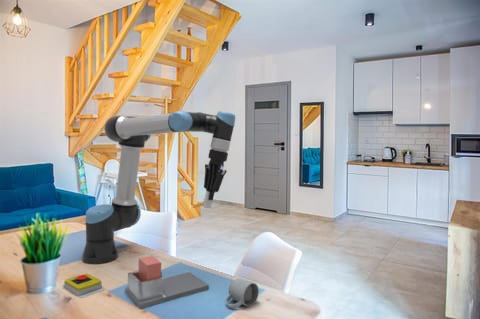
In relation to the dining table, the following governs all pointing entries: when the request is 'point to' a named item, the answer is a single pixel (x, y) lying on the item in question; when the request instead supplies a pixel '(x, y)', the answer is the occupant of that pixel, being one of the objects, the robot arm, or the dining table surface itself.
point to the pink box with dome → (149, 268)
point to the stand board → (174, 289)
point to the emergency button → (83, 285)
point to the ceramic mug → (242, 293)
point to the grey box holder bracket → (145, 287)
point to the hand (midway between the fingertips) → (207, 207)
